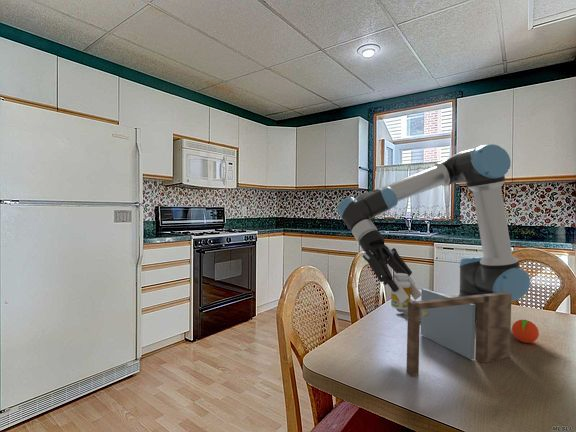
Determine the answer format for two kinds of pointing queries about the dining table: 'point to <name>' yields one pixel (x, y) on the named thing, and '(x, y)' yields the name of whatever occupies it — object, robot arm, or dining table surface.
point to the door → (449, 324)
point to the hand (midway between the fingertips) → (412, 298)
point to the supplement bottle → (406, 286)
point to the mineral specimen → (407, 310)
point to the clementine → (525, 331)
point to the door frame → (489, 326)
